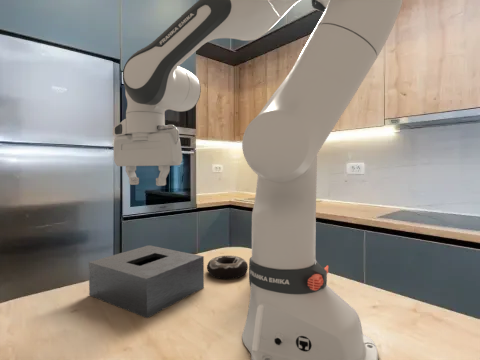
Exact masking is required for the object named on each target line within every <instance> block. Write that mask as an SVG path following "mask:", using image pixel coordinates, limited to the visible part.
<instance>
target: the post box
mask: <svg viewBox="0 0 480 360" xmlns="http://www.w3.org/2000/svg"><path fill="white" fill-rule="evenodd" d="M204 257H205V256H204V255H198V254H195V253H194V254H193V253H189V252H185V251H179V250H173V249H170V248H169V249H168V248H165V247H164V248H163V247H161V246H160V247H159V246H154V245H149V244H148V245H145V246H141V247H137V248H134V249H131V250H127V251H125V252H124V251H123V252H120V253H116V254H112V255H109V256H106V257H101V258H99V259H98V258H97V259H95V260H91V261H88V285H89V287H88V288H89V291H88V292H89V294H88V296H90V297H93V298H95V299H98V300H100V301H103V302H105V303H108V304H110V305H113V306H115V307H118V308H120V309H122V310H125V311H128V312H131V313H133V314H136V315H138V316H141V317H142V318H143V317H144V318H146V319H148V318H149V317H152V316H154V315H156V314H157V313H159V312H161V311H164V310H165V309H168V307H171V306H172V305H174V304H176V303H179V302H180V301H182V300H184V299H186V298H188V297H189V296H191V295H192V294H194V293H196V292H199V291H200V290H202V289H204V288H205V287H204V286H205V285H204V284H205V280H204V279H205V278H204V277H205V276H204V275H205V274H204V273H205V271H204V268H205V265H204V264H205V263H204V262H205V261H204V259H205V258H204Z"/></svg>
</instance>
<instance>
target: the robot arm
mask: <svg viewBox="0 0 480 360" xmlns="http://www.w3.org/2000/svg"><path fill="white" fill-rule="evenodd" d="M300 1H301V0H198V1H196V2H195V3H194V4H193V5H192V6H191V7H189V9H187V10H186V11H185V12H183V14H182V15H181V16H179V17H178V18H177V19H176V20H175V21H174V22H173V23H172V24H171V25H170V26H169V27H167V28H166V29H165V30H164V31H163V32H162V33H161V34H160V35H159V36H158V37H157V38H156V39H155V40H153V41H152V42H151V43H149V44H148V45H146V46H144V47H143V48H141V49H139V50H137V51H136V52H135V53H133V54H131V56H129V58H128V59H127V61H126V62H125V64H124V66H123V68H122V82H123V87H124V89H125V90H124V92H125V93H124V94H125V98H126V103H127V106H126V110H125V118H124V119H123V120H122V121H121V122H119V123H118V124H116V125H115V126H114V127H113V128H112V135H113V136H114V139H113V161H114V163H115V165H116V166H117V167H125V172H126V175H127V177H128V183H129V185H132V186H133V185H134V186H135V185H136V186H137V185H139V183H140V177H137V174H136V171H137V167H155V166H157V167H158V171H159V174H158V177H156V178H155V185H156V186H157V187H163V186H166V185H167V177H168V175H169V173H170V171H171V170H170V169H171V168H170V167H171V166H181V164H182V162H183V152H182V151H183V150H182V144H181V139H180V131H179V129H178V128H177V127H176V125H174V124H167V125H166V118H165V117H166V116H165V114H166V113H165V112H166V111H168V110H171V111H175V112H188V111H190V110H192V109H193V108H194V107H196V105H197V104H198V102H199V101H200V98H201V92H202V91H201V83H200V80H199V79H198V77H197V76H196V75H195V74H194V73H192V72H191V71H189V70H188V69H186V68H184V67H182V66H181V64H183V63H184V62H185V61H186V60H187V59H189V58H190V57H192V55H194V53H195V52H197V51H198V50H199V49H200V48H201V47H202V46H203V45H205V44H206V43H209V42H210V41H211V42H212V41H213V40H217V39H233V40H239V41H244V42H247V41H254V40H257V39H259V38H261V37H262V36H264V35H265V34H267V33H268V32H269V31H271V29H272V28H273V27H275V25H277V24H278V22H279V21H280V20H281V19H282V18H283V17H284V16H286V14H287V13H288V12H289V11H290V10H291V9H292V8H293V6H295V5H296V4H297V3H299V2H300ZM403 1H404V0H311V6H312V9H314V10H317V11H318V12H319V11H320V12H322V15H321V16H320V19H319V21H318V22H317V24H316V26H315V28H314V29H313V31H312V32H311V34H310V36H309V38H308V40H307V42H306V43H305V45H304V47H303V49H302V50H301V53H300V54H299V56H298V58H297V60H296V61H295V62H294V65H293V67H292V68H291V70H290V71H289V73H288V74H287V76H286V77H285V78H284V80H283V81H282V83H281V84H280V85H279V86H278V87H277V89H276V90H275V91H274V93H272V95H271V97H270V98H269V99H268V100H267V102H266V103H265V105H264V106H263V108H262V109H261V111H259V113H258V115H257V116H255V117H254V118H253V119H252V120H251V121H250V122H249V124H248V125H247V126H246V128H245V131H244V133H243V135H242V136H243V137H242V140H241V141H242V143H241V147H242V153H243V156H244V160H245V161H246V163H247V165H248V166H249V168H250V169H251V170H252V171H253V172H254V174H256V175H257V180H256V188H255V197H254V204H253V208H252V212H251V257H250V258H249V259H248V260H249V261H248V262H249V263H248V264H249V265H248V282H249V283H248V284H249V287H250V290H249V291H250V294H249V301H248V310H247V314H246V319H245V324H244V327H243V331H242V334H241V336H242V337H241V338H242V342H243V344H244V346H245V347H246V349H247V350H248V351H249V353H250V356H251V357H250V358H251V360H379V354H378V353H379V352H378V348H377V345H376V343H375V341H374V340H373V339H372V338H371V336H368V335H366V334H363V327H362V323H361V320H360V316H359V313H358V312H357V310H356V309H355V308H354V307H352V306H351V305H350V304H349V303H348V302H347V301H345V299H343V298H342V297H341V296H340V295H339V294H338V293H336V291H334V289H332V288H331V287H330V286H329V285H328V284H327V282H328V274H329V265H326V266H325V267H323V266H322V265H321V264H320V263H319V262H318V261H317V259H316V238H317V237H316V236H317V235H316V233H317V231H316V230H317V229H316V227H317V225H316V224H317V222H316V221H317V220H316V219H317V217H316V215H317V180H318V179H317V175H318V174H317V171H318V154H319V152H320V150H321V148H322V147H323V145H324V144H325V143H326V141H327V139H328V137H329V136H330V134H331V132H332V131H333V129H335V126H337V125H336V124H338V122H339V120H340V119H341V116H343V114H344V112H345V111H346V109H347V108H348V106H349V105H350V103H351V102H352V99H354V96H355V95H356V93H357V91H358V90H359V89H360V87H361V85H362V83H363V82H364V80H365V78H366V77H367V75H368V74H369V72H370V70H371V69H372V67H373V65H374V64H375V62H376V60H377V58H378V57H379V55H380V54H381V52H382V50H383V48H384V46H385V45H386V42H387V40H388V38H390V35H391V32H392V30H393V28H394V25H395V24H396V21H397V19H398V16H399V13H400V11H401V8H402V5H403Z"/></svg>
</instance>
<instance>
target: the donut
mask: <svg viewBox="0 0 480 360" xmlns="http://www.w3.org/2000/svg"><path fill="white" fill-rule="evenodd" d="M206 269H207V271H208V272H207V273H208V274H209V275H210V276H212V277H214V278H217V279H221V280H222V279H223V280H234V279H237V278H240V277H242V276H244V275H245V274H246V273H247V271H248V270H249V265H248V262H247V261H246V260H245V259H244V258H242V257H241V256H236V255H220V256H216V257H213V258H212V259H210V260H209V261H208V263H207V265H206Z"/></svg>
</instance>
